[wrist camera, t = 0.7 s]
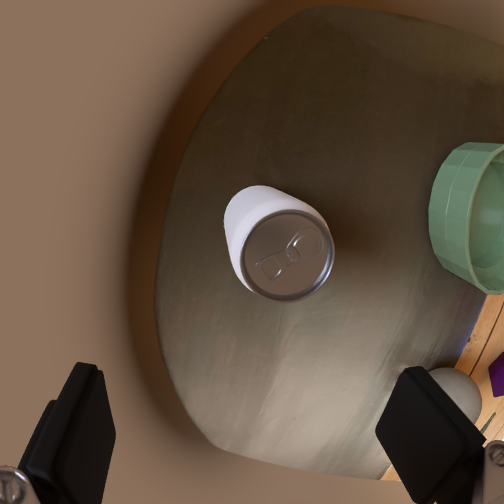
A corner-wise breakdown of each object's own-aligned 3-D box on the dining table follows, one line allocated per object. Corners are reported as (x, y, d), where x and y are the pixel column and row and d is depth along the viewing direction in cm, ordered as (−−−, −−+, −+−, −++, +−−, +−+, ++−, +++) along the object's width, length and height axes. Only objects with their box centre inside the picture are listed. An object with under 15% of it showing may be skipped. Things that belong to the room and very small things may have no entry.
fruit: (419, 416, 42) (463, 476, 28) (383, 398, 39) (432, 472, 24) (462, 369, 40) (516, 422, 26) (433, 343, 37) (499, 406, 23)
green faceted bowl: (419, 143, 29) (462, 144, 23) (506, 142, 30) (544, 145, 24) (424, 288, 34) (459, 312, 28) (505, 259, 35) (538, 275, 29)
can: (304, 230, 30) (358, 272, 19) (247, 265, 31) (268, 328, 19) (270, 171, 28) (310, 179, 17) (209, 209, 29) (209, 242, 17)
